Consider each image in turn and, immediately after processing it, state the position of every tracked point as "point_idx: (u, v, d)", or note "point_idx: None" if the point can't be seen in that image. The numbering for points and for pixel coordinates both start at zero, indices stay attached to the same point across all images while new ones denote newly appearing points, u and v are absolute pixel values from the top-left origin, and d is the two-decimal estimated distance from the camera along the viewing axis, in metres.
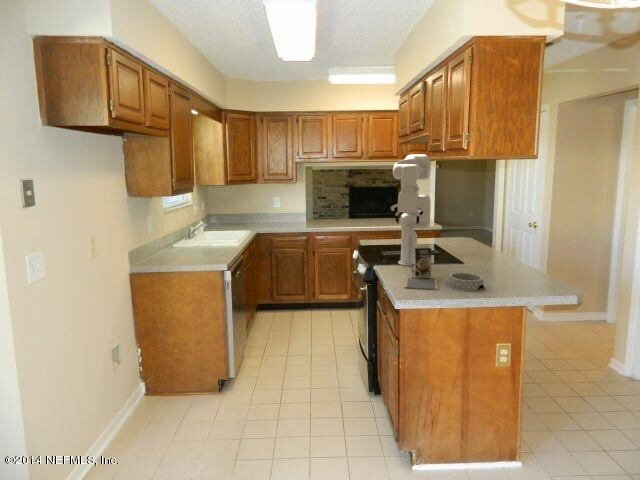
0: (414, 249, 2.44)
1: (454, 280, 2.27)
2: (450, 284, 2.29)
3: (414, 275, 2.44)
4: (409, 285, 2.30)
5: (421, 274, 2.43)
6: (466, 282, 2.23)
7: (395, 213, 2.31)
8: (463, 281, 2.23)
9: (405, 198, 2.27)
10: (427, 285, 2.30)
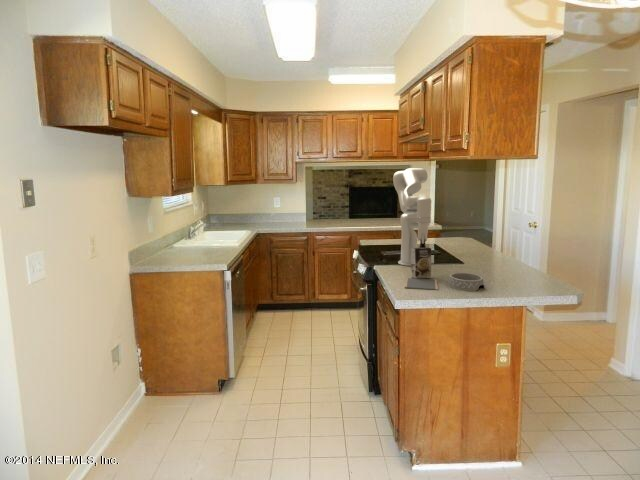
0: (414, 249, 2.44)
1: (454, 280, 2.27)
2: (450, 284, 2.29)
3: (414, 275, 2.44)
4: (409, 285, 2.30)
5: (421, 274, 2.43)
6: (466, 282, 2.23)
7: None
8: (463, 281, 2.24)
9: None
10: (427, 285, 2.30)
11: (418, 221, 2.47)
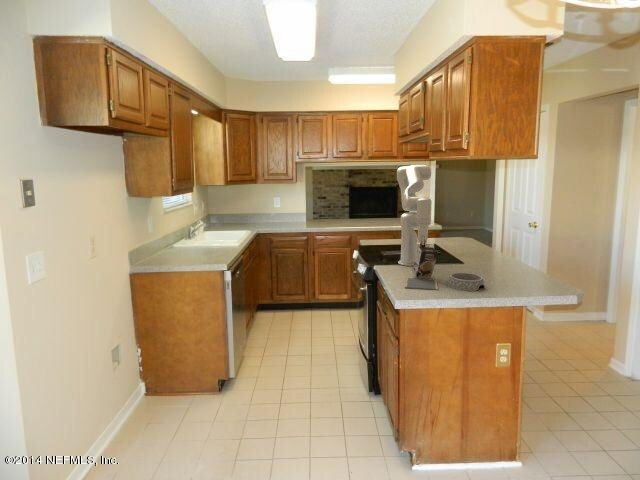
0: (420, 251, 2.38)
1: (454, 280, 2.27)
2: (450, 284, 2.29)
3: (415, 274, 2.44)
4: (409, 285, 2.30)
5: (422, 275, 2.42)
6: (466, 281, 2.23)
7: (424, 246, 2.44)
8: (463, 281, 2.24)
9: None
10: (427, 285, 2.30)
11: (418, 222, 2.42)
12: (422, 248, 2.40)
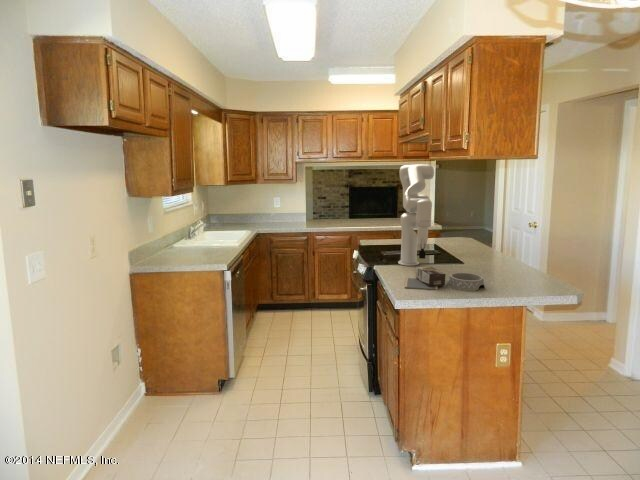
0: (428, 282, 2.27)
1: (454, 280, 2.27)
2: (450, 284, 2.29)
3: (416, 276, 2.41)
4: (409, 285, 2.30)
5: None
6: (466, 281, 2.23)
7: (423, 249, 2.37)
8: (464, 281, 2.24)
9: None
10: (427, 285, 2.30)
11: (418, 225, 2.35)
12: (432, 278, 2.27)
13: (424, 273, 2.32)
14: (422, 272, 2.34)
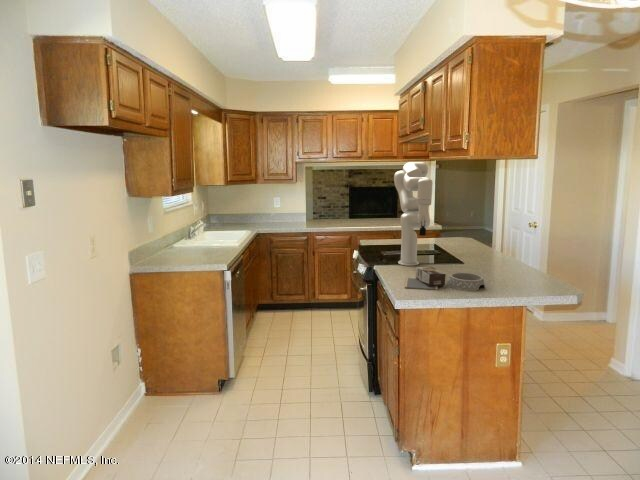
0: (428, 282, 2.27)
1: (455, 280, 2.27)
2: (450, 284, 2.29)
3: (416, 276, 2.41)
4: (409, 285, 2.30)
5: None
6: (467, 281, 2.23)
7: (424, 226, 2.46)
8: (464, 281, 2.24)
9: (428, 210, 2.44)
10: (427, 285, 2.30)
11: (418, 203, 2.43)
12: (432, 278, 2.27)
13: (424, 273, 2.32)
14: (422, 272, 2.34)
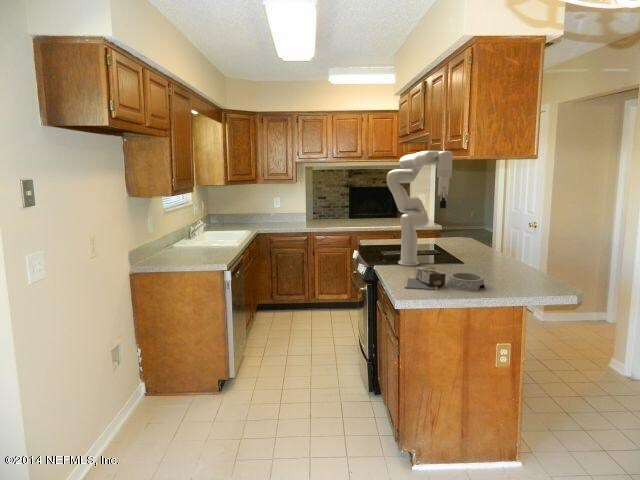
0: (428, 282, 2.27)
1: (455, 279, 2.27)
2: (451, 284, 2.29)
3: (416, 276, 2.41)
4: (409, 285, 2.30)
5: None
6: (467, 281, 2.23)
7: None
8: (464, 281, 2.24)
9: None
10: (427, 285, 2.30)
11: (439, 175, 2.44)
12: (432, 278, 2.27)
13: (424, 273, 2.32)
14: (422, 272, 2.34)
